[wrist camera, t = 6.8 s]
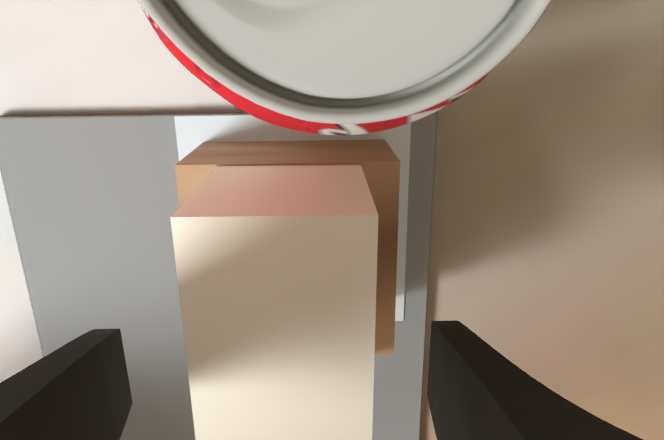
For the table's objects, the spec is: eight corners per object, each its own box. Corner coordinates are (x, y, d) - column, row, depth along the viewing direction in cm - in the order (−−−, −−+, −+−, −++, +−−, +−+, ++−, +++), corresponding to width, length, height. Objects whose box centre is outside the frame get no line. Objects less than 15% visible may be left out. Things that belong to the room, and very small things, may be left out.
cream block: (357, 357, 18) (371, 467, 13) (231, 359, 18) (198, 471, 13) (360, 164, 16) (377, 214, 11) (215, 165, 16) (170, 216, 11)
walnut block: (381, 300, 22) (393, 354, 18) (218, 304, 22) (196, 358, 18) (384, 139, 19) (400, 161, 16) (203, 142, 19) (174, 165, 16)
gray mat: (414, 468, 26) (417, 479, 25) (79, 477, 25) (72, 489, 25) (433, 110, 20) (437, 112, 19) (-2, 116, 19) (-13, 119, 19)
